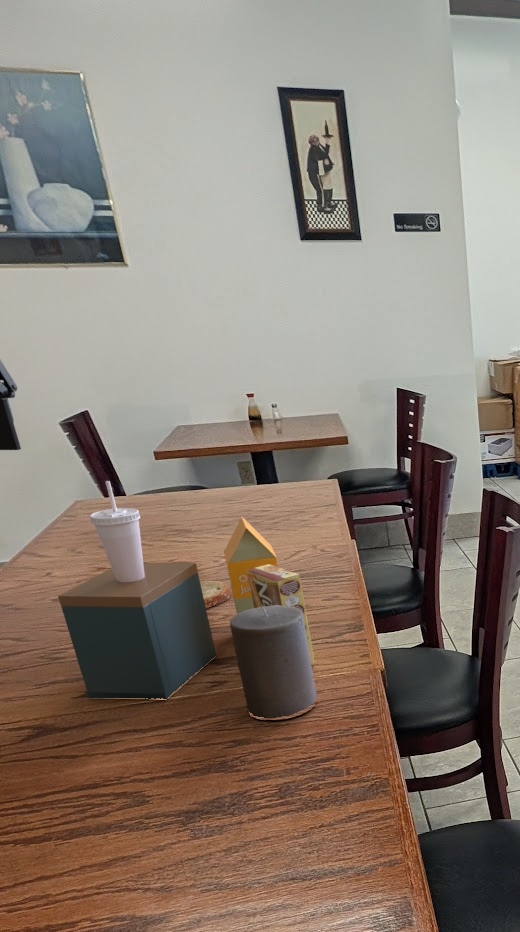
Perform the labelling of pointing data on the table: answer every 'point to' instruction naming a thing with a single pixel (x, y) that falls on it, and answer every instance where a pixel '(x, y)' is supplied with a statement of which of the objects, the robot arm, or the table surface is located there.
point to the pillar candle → (273, 660)
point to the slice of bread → (215, 592)
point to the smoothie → (120, 539)
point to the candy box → (278, 591)
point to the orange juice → (246, 561)
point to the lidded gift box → (139, 631)
